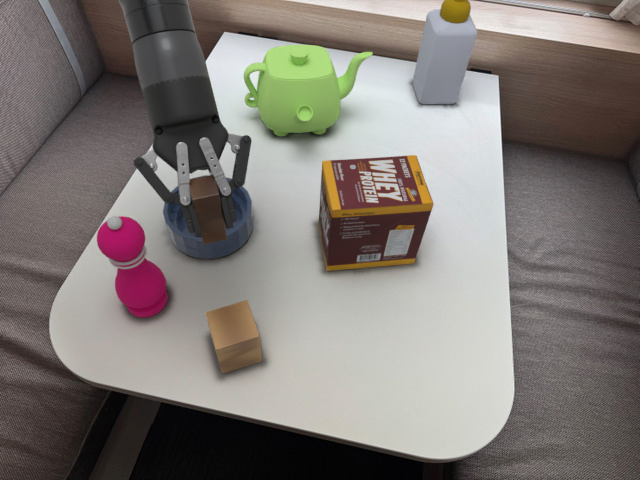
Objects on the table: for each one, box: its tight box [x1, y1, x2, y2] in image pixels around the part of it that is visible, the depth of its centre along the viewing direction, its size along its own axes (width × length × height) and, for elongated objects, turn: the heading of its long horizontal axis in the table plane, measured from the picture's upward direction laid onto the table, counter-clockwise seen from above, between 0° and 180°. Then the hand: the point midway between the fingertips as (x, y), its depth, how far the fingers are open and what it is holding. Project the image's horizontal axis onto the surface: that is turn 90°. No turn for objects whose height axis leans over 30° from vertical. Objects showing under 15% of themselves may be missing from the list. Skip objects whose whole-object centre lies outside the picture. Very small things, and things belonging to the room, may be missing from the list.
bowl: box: [162, 174, 254, 260], centre depth 89 cm, size 14×14×6 cm
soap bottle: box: [411, 0, 478, 105], centre depth 107 cm, size 9×9×25 cm
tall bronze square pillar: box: [189, 174, 227, 244], centre depth 62 cm, size 3×3×9 cm
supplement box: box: [317, 154, 435, 272], centre depth 84 cm, size 10×15×16 cm
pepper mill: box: [96, 215, 168, 318], centre depth 73 cm, size 7×7×20 cm
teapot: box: [243, 44, 374, 137], centre depth 102 cm, size 25×22×16 cm
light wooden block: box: [204, 299, 263, 375], centre depth 74 cm, size 6×6×8 cm
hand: (214, 231), depth 61 cm, fingers closed on tall bronze square pillar, 3 cm apart
